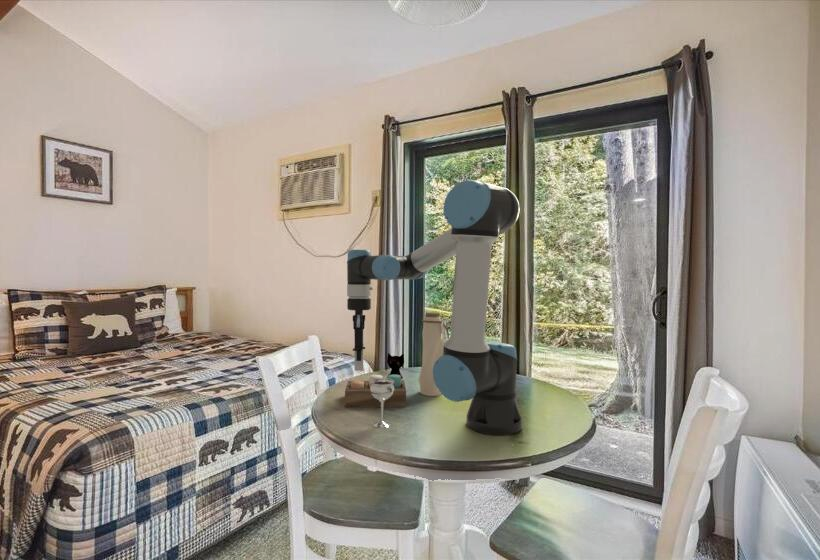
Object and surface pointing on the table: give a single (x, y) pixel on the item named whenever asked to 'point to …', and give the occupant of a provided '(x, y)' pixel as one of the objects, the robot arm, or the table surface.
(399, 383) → the teal button
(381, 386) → the wineglass
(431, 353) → the water bottle
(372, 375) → the ivory button
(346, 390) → the console
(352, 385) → the terracotta button
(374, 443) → the table surface
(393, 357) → the cat figurine
